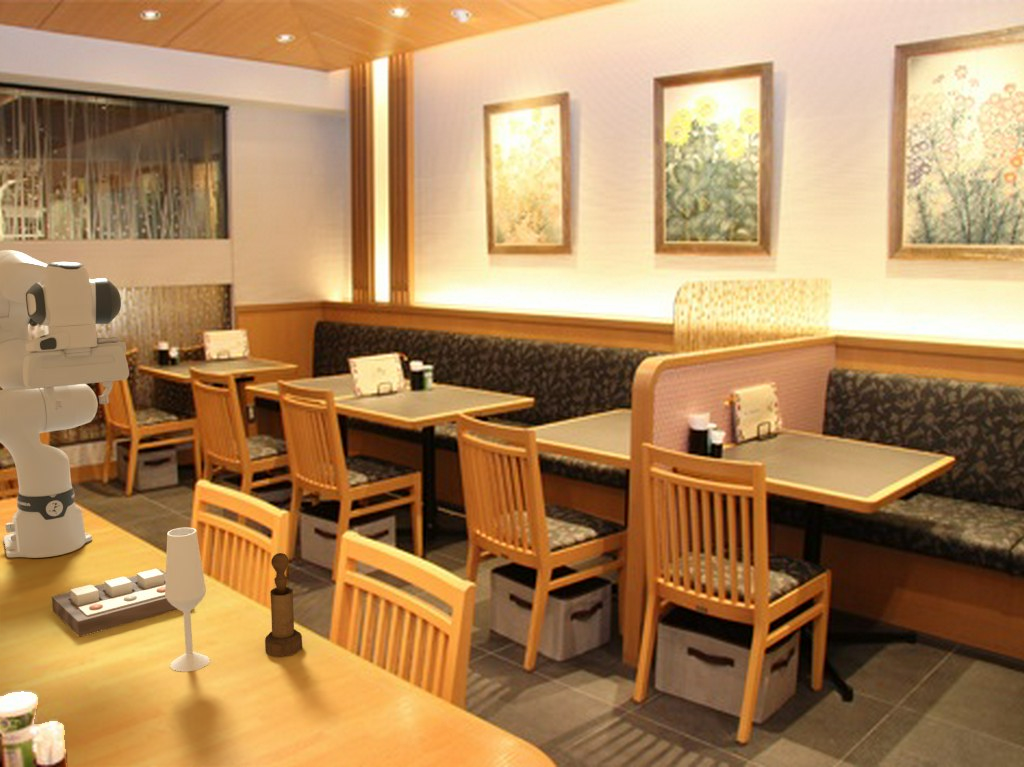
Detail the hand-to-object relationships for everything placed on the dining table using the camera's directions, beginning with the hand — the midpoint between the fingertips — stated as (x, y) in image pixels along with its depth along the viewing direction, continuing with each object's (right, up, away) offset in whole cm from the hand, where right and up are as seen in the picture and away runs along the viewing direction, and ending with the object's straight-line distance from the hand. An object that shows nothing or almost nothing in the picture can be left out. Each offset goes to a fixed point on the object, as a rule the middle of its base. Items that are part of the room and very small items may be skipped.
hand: (80, 406), depth 199 cm
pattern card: (+15, -38, -11) cm, 42 cm away
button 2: (+15, -37, -2) cm, 40 cm away
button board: (+12, -40, -7) cm, 43 cm away
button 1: (+6, -39, -11) cm, 41 cm away
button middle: (+11, -38, -6) cm, 40 cm away
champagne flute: (+33, -45, -31) cm, 64 cm away
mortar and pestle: (+48, -44, -26) cm, 70 cm away
